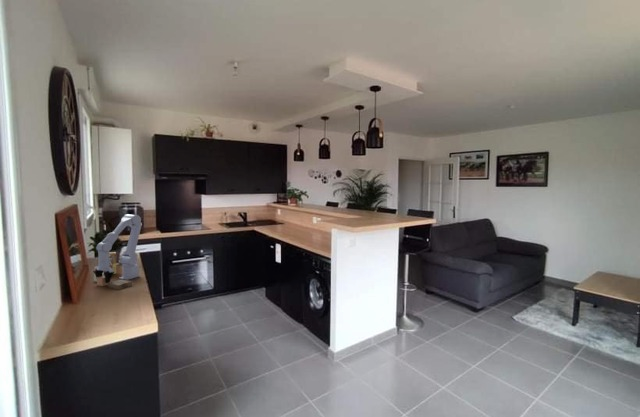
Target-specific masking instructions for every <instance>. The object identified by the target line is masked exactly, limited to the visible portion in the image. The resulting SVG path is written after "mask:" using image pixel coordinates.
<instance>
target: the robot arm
mask: <svg viewBox="0 0 640 417" xmlns="http://www.w3.org/2000/svg"><path fill="white" fill-rule="evenodd" d="M141 221H142V218H141V217H140V215H138V214H129V213H127V214H124V216H122V217H121V220H120V222H119V223H118V225H117V226H116V227H115V229H114V230H112V232H111V231H110V232H109V233H107V234H106V236H105V237H104V239H102V241H101V242H99V243H98V244H97V245H96V246H95V249H96V251H97V254H98V255H97V258H98V259H97V262H98V263H97V266H94V270H93V272H92V273H93V275H94V274H95V275H96V278H97V277H101V276H102V274H104V276H105V282H106V283H109V282H110V283H111V279H112V276H113V275H114V274H113V273H114V271H113V269H112V268H110V267H109V253H110V251H111V250H112V247H113V245H114V243H115V242H116V241H117V240H118V238H119V235H120V234H121V233H122V231H123V230H125V228H126V227H130V229H131V230H130V232H129V233H130V234H129V237H128V241H127V245H126V250H125V251H123V252H122V255H121V256H120V257H119V262H120V264H121V265H122V267H121V268H122V271H121V272H122V274H121V275H122V276H121V277H120V276H119V279H120V280H127V281H129V280H131V279H135V278H139V277H140V274H139V273H140V268H139V265H138V264H137V262H138V254H137V252H136V250H137V245H138V242H139V238H140V233H141V229H142V224H141V223H142V222H141ZM103 271H107V272H104V273H103Z"/></svg>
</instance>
